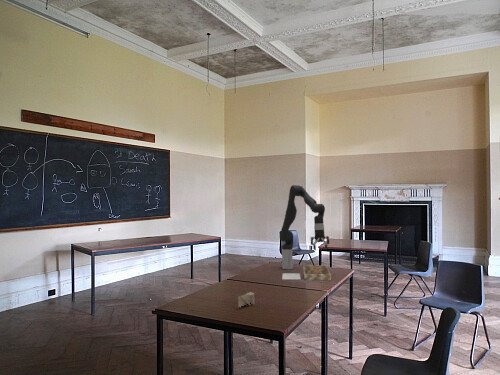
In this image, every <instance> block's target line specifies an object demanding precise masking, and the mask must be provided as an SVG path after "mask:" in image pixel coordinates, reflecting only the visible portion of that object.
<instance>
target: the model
mask: <svg viewBox="0 0 500 375" xmlns="http://www.w3.org/2000/svg"><path fill="white" fill-rule="evenodd" d="M250 303H251V304H250ZM247 304H248V305H247ZM244 305H246V306H251V305H255V293H254V292H252V291H250V292H246V293H245V294H243V295H238V308H239V307H240V308H242V307H241V306H243V307H244Z"/></svg>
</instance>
